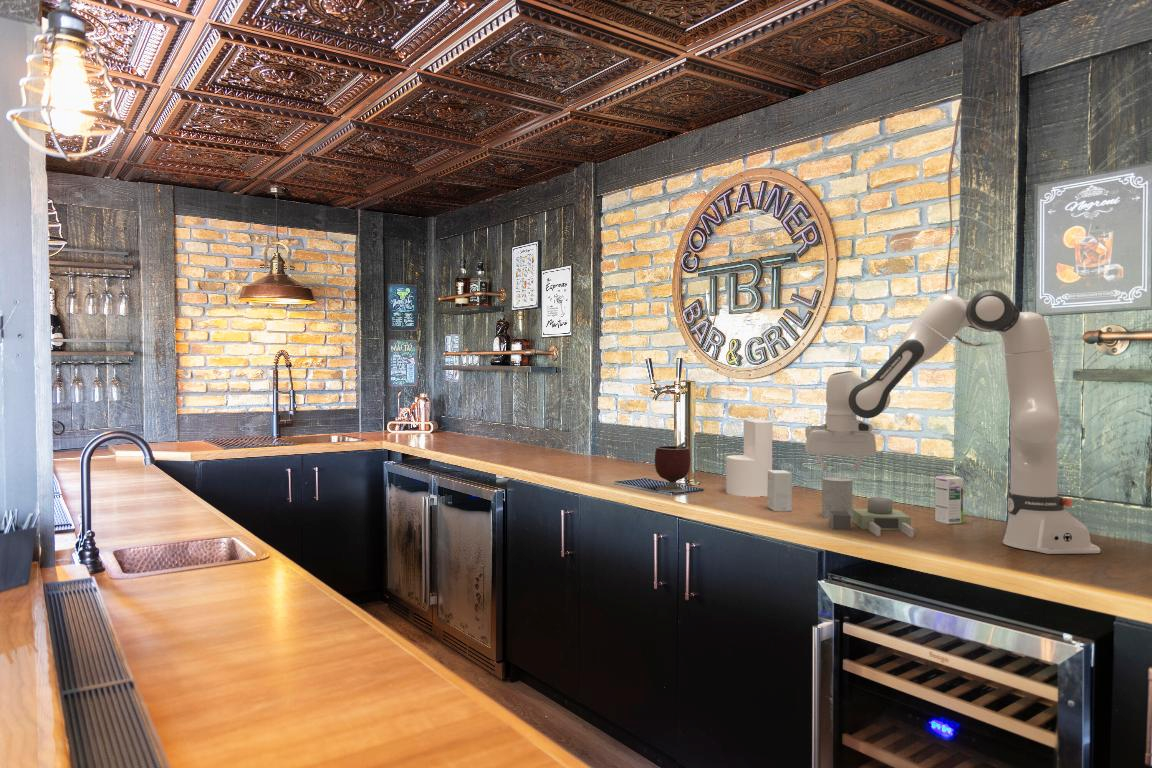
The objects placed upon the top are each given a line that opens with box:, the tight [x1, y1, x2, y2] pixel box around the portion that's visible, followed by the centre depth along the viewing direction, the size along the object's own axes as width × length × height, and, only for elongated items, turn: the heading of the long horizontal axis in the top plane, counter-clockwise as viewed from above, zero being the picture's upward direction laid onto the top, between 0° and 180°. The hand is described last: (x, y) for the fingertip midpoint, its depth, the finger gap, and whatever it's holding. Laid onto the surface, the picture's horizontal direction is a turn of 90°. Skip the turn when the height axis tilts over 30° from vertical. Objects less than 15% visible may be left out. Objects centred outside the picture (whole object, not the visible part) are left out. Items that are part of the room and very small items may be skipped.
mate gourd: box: [654, 441, 691, 492], centre depth 298 cm, size 16×14×20 cm
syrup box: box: [934, 475, 964, 525], centre depth 238 cm, size 6×6×14 cm
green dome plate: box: [851, 496, 915, 538], centre depth 228 cm, size 14×21×8 cm, turn 173°
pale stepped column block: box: [725, 419, 774, 498], centre depth 293 cm, size 17×17×28 cm
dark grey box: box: [828, 511, 852, 531], centre depth 230 cm, size 5×7×4 cm
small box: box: [766, 469, 793, 512], centre depth 259 cm, size 8×6×13 cm
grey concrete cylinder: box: [821, 476, 854, 519], centre depth 247 cm, size 10×10×12 cm
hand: (840, 470), depth 230 cm, fingers open, 8 cm apart
